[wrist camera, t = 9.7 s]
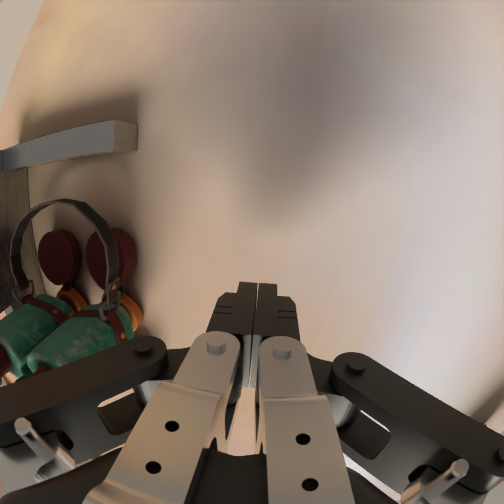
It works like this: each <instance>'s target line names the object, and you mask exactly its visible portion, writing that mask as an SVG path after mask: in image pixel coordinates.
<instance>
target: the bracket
mask: <svg viewBox="0 0 504 504" xmlns="http://www.w3.org/2000/svg"><path fill="white" fill-rule="evenodd" d="M137 133H138V124H134V123H129V122H124V121H119V120H110V121H105V122H100V123H95V124H90V125H85V126H81V127H76V128H72V129H68V130H64V131H60V132H57V133H53V134H49V135H46V136H43V137H39V138H36V139H33V140H30V141H27V142H24V143H21V144H18V145H15V146H13V147H10V148H7V149H5V150H0V313H1V312H3V311H4V310H5V313H6V316H7V315H8V314H10V313H11V312H12V311H14V310H15V309H17V308H18V307H20V306H21V305H22V303H19V302H17V300H16V298H15V297H14V295H13V293H12V289H13V288H14V287H16V284H15V279H14V277H13V275H12V273H11V263H10V247H11V238H12V236H13V233H14V231H15V229H16V226H17V224H18V222H19V220H20V219H21V218H22V217H23V216H24V215H25V214H26V213H27V212H28V211H29V210H30V206H29V195H28V177H27V167H32V166H36V165H41V164H46V163H51V162H56V161H62V160H67V159H73V158H80V157H86V156H93V155H101V154H109V153H118V152H127V151H137ZM20 255H21V262H22V268H23V270H24V272H25V274H26V276H27V279H28V280H33V282H34V290H35V293H34V296H33V297H35V296H37V295H40V294H46V293H45V289H44V285H43V281H42V277H41V273H40V269H39V264H38V259H37V254H36V249H35V243H34V237H33V231H32V224H31V220H30V222H29V224H28V226H27V228H26V230H25V232H24V234H23V238H22V245H21V253H20ZM31 292H32V287H31V283H30V287H28V288H26V289H24V290H22V291H21V292H18V291H17V290H16V291H15V293H16V295H17V296H18V298H19V299H21V298H22V297H24V296H26V295H27V294H31Z"/></svg>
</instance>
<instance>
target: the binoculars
mask: <svg viewBox="0 0 504 504" xmlns="http://www.w3.org/2000/svg"><path fill="white" fill-rule="evenodd" d="M54 203H60V204H65V205H70V206H74V207H75V208H76V209H77V210H78V211H79V212H80V213H81V214H82V215H83V216H84V217H85V218H86V219H87V220H88V221H89V222H90V223H91V224H92V225H93V226H94V227H95V229H96V232H94V233H93V234H92V235H91V236H90V238H89V239H88V242H87V245H86V263H87V266H88V269H89V271H90V274H91V276H92V277H93V279H94V281H95V282H96V283H97V285H98V286H99V287H101V288H102V289H103V290H105V291H104V294H103V297H102V302H100V304H95V305H88V306H87V304H86V302H85V300H84V299H83V297H82V296H81V295H80V294H79V293H78V292H77V291H76V290H75V289H74V288H72V287H71V279H73V278H74V276H75V275H76V274H77V272H78V270H79V267H80V263H81V248H80V245H79V242H78V241H77V239H76V237H75V236H74V235H73V234H72V233H71V232H69V231H67V230H56V231H51V232H48V233H46V234H45V235H44V236H43V237H42V239H41V241H40V243H39V247H38V258H39V263H40V266H41V268H42V270H43V272H44V274H45V276H46V277H47V278H48V279H49V281H50V282H52V283H53V284H55V285H62V284H63V287H62V288H61V289H60V291H59V292H58V293H57V296H56V298H55V297H52V296H49V295H46V294H40V295H37V296H35V297H33V296H34V293H35V290H34V282H33V280H28V279H27V276H26V274H25V272H24V270H23V268H22V262H21V255H20V253H21V245H22V238H23V234H24V232H25V230H26V228H27V226H28V224H29V222H30V220H31V219H32V218H33V217H34V216H35V215H36V214H37V213H38V212H39V211H40V210H41V209H43V208H45V207H47V206H49V205H51V204H54ZM10 263H11V273H12V275H13V277H14V279H15V284H16V287H14V288H13V289H12V293H13V295H14V297H15V298H16V300H17V302H19V303H22V305H21V306H20V307H18V308H17V309H15V310H14V311H12V312H11V313H10V314H8V315H7V316H5V317H4V318H3V319H1V320H0V385H1V384H2V379H1V378H2V377H3V376H4V375H5V374H6V373H8V372H10V373H12V374H13V375H14V376H16V377H17V378H19V379H17V380H16V381H15V382H18V381H21V380H24V379H27V378H29V377H32V376H35V375H38V374H41V373H44V372H46V371H49V370H52V369H55V368H57V367H60V366H63V365H65V364H68V363H71V362H73V361H76V360H79V359H81V358H84V357H87V356H89V355H92V354H94V353H97V352H100V351H102V350H105V349H107V348H110V347H112V346H115V345H117V344H120V343H122V342H125V341H127V340H130V339H132V338H133V337H134V334H133V332H134V331H135V330H136V329H137V328H138V327H139V325H140V324H141V323H142V320H143V315H142V312H141V310H140V308H139V307H138V305H137V304H136V303H135V302H134V301H133V300H132V299H131V298H130V297H128V296H127V295H125V294H124V284H126V283H127V282H128V281H129V280H130V279H131V277H132V275H133V273H134V271H135V268H136V263H137V254H136V248H135V245H134V243H133V241H132V239H131V237H130V236H129V235H128V234H127V233H126V232H125V231H123V230H121V229H119V228H109V226H108V224H107V222H106V221H105V220H104V219H103V218H102V217H101V216H100V215H99V214H97V213H96V212H95V211H94V210H93V209H92V208H91V207H90V206H89V205H88V204H87V203H86V202H81V201H76V200H71V199H58V200H52V201H49V202H45V203H41V204H39V205H37V206H35V207H34V208H32V209H30V210H29V211H28V212H27V213H26V214H25V215H24V216H23V217H22V218H21V219H20V220H19V222H18V224H17V226H16V229H15V231H14V233H13V236H12V238H11V247H10ZM30 283H31V287H32V292H31V294H27V295H26V296H24V297H22V298H21V299H19V298H18V296H17V295H16V293H15V291H16V290H17V291H18V292H21V291H22V290H24V289H26V288H28V287H30Z"/></svg>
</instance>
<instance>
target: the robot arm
mask: <svg viewBox="0 0 504 504" xmlns="http://www.w3.org/2000/svg"><path fill="white" fill-rule="evenodd" d="M257 285H258V283H252V282H239V286H238V290H237V293H228V292H226V293H224V294H223V295H222V296H220V297H219V298H218V300H217V303H216V307H215V308H214V311H213V314H212V317H211V319H210V322H209V325H208V328H207V330H206V333H203V334H201V335H199V336H198V337H197V338H196V339H195V340H194V342H193V344H192V346H191V347H188V348H182V349H169V350H167V348H166V345H165V343H164V342H163V341H162V340H161V339H159V338H157V337H153V336H139V337H135V338H132V339H130V340H127V341H125V342H122V343H120V344H117V345H115V346H112V347H110V348H107V349H105V350H102V351H100V352H97V353H94V354H92V355H89V356H87V357H84V358H81V359H79V360H76V361H73V362H71V363H68V364H65V365H63V366H60V367H57V368H55V369H52V370H49V371H46V372H44V373H41V374H38V375H35V376H32V377H29V378H27V379H24V380H21V381H18V382H15V383H12V384H9V385H6V386H3V387H0V476H1V479H2V482H3V485H4V488H5V491H6V494H5V495H4V496H2V498H0V504H398V503H397V502H396V501H394V500H393V499H392V498H390V497H389V496H387V495H386V494H385V493H384V492H382V491H381V490H380V489H378V488H377V487H376V486H374V485H373V484H372V483H371V482H369V481H368V480H367V479H366V478H364V477H363V476H362V475H360V474H359V473H357V472H356V471H354V470H352V469H350V468H348V467H346V464H345V460H344V456H343V453H344V454H346V455H347V456H348V457H349V458H351V459H352V460H353V461H354V462H356V463H357V464H358V465H360V466H361V467H362V468H364V469H365V470H366V471H368V472H369V473H370V474H372V475H373V476H374V477H376V478H377V479H379V480H380V481H381V482H383V483H384V484H386V485H387V486H389V487H390V488H391V489H393V490H394V491H396V492H397V493H399V494H400V495H401V504H483V502H484V500H485V498H486V496H487V494H488V492H489V491H490V490H491V489H493V488H494V487H495V486H497V485H498V484H499V483H501V482H502V481H503V480H504V436H502V435H501V434H499V433H497V432H495V431H493V430H492V429H490V428H488V427H486V426H484V425H483V424H481V423H479V422H477V421H475V420H474V419H472V418H470V417H468V416H467V415H465V414H463V413H461V412H460V411H458V410H456V409H454V408H453V407H451V406H449V405H447V404H446V403H444V402H442V401H441V400H439V399H437V398H436V397H434V396H432V395H430V394H429V393H427V392H425V391H424V390H422V389H420V388H419V387H417V386H415V385H414V384H412V383H410V382H409V381H407V380H405V379H404V378H402V377H401V376H399V375H397V374H396V373H394V372H392V371H391V370H389V369H388V368H386V367H384V366H383V365H381V364H379V363H378V362H376V361H375V360H373V359H371V358H370V357H368V356H366V355H364V354H361V353H356V352H347V353H343V354H340V355H338V356H337V357H336V358H335V359H334V361H333V362H330V361H325V360H321V359H318V358H315V357H313V356H311V355H309V354H308V353H307V351H306V348H305V346H304V345H303V344H302V343H301V342H300V334H299V327H298V319H297V313H296V305H295V303H294V302H293V300H292V299H291V298H290V297H285V296H277V284H268V283H259V289H258V298H257ZM256 302H257V307H256ZM252 348H253V351H252ZM251 358H252V367H251ZM250 367H251V382H250V387H254V388H256V391H255V403H254V425H255V454H254V455H246V456H233V455H229V454H227V448H228V443H229V439H230V436H231V432H232V428H233V424H234V420H235V416H236V412H237V408H238V403H239V398H240V395H241V389H242V387H248V384H249V376H250ZM131 388H133V390H134V393H132V394H129V395H127V396H125V397H123V398H121V399H119V400H116V401H114V402H112V403H110V404H108V405H105V406H103V407H98V405H99V404H100V403H101V402H103V401H105V400H107V399H109V398H112V397H114V396H116V395H118V394H120V393H123V392H125V391H127V390H129V389H131ZM361 410H362V411H364V412H365V413H367V414H368V415H369V416H371V417H372V418H374V419H375V420H377V421H378V422H379V423H381V424H382V425H384V426H385V427H386V428H387V429H388V430H389V431H390V432H388V431H387V430H386V429H384V428H383V427H381V426H380V425H378V424H377V423H376V422H374V421H373V420H371V419H370V418H368V417H367V416H366V415H364V414H363V413H362V412H360V411H361ZM124 443H125V444H124ZM122 444H124V446H123V447H121V448H118V449H115V450H113V451H111V452H109V453H107V454H105V455H103V456H101V457H99V458H96V459H94V460H92V461H91V462H88V463H86V464H84V465H81V466H79V467H77V468H75V469H74V467H75V465H76V464H79V463H81V462H83V461H86V460H88V459H91V458H93V457H95V456H98V455H100V454H102V453H104V452H107V451H109V450H111V449H113V448H115V447H117V446H119V445H122Z"/></svg>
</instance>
